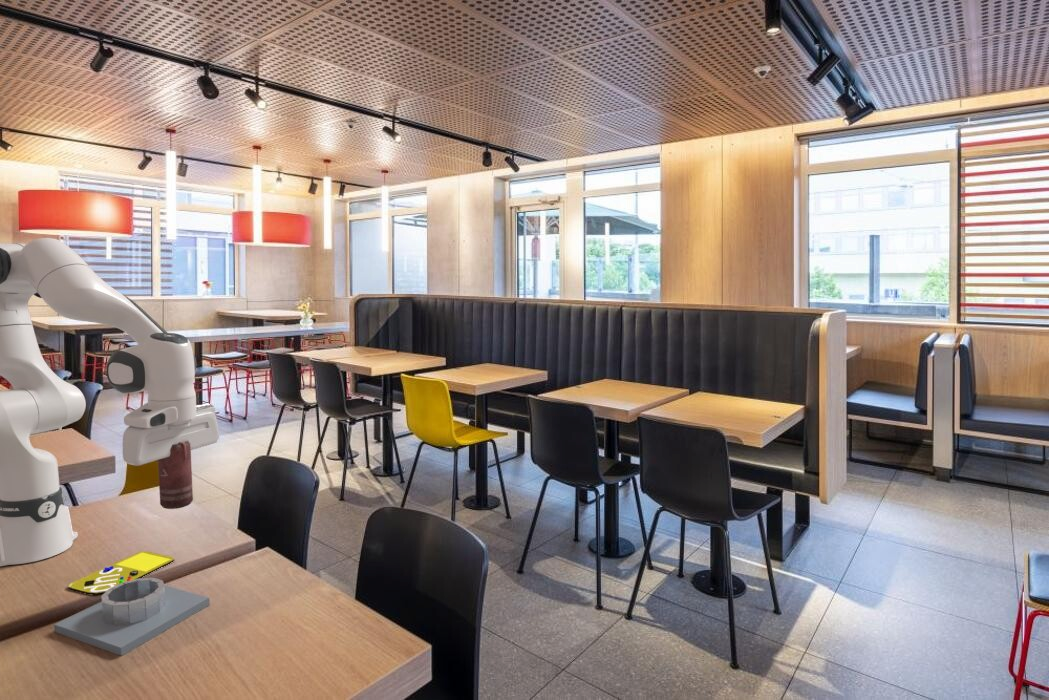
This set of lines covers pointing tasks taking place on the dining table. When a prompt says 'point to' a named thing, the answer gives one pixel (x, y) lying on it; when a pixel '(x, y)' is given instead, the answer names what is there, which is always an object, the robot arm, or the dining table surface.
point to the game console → (120, 572)
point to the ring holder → (133, 601)
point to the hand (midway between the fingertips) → (175, 473)
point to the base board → (128, 637)
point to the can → (176, 477)
